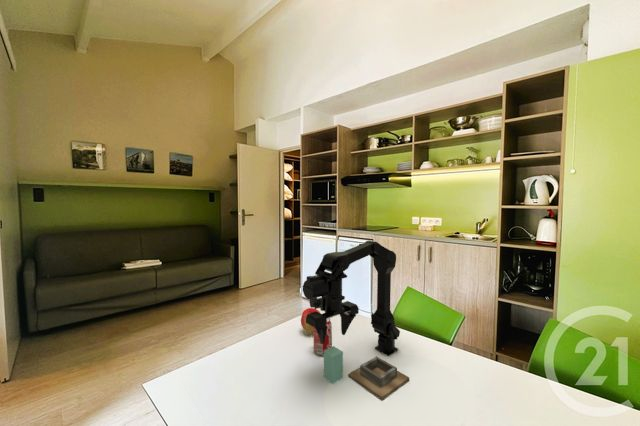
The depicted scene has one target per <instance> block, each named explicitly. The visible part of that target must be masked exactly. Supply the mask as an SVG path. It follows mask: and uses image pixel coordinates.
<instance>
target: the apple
mask: <svg viewBox="0 0 640 426" xmlns="http://www.w3.org/2000/svg"><path fill="white" fill-rule="evenodd" d="M315 311H317V312H319V313H321V312H320V310H319V309H318V308H317V309H315V308H314V307H312V308H311V307H308V308H306V309H304V310H303V311H302V313H301V316H300V324H301V327H302V329H303V330H304V332H305V333H307V334H309V335H311V334H313V327H312V326H311V325H309V324H307V323H306V315H307V314H309V313H312V312H315Z"/></svg>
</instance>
